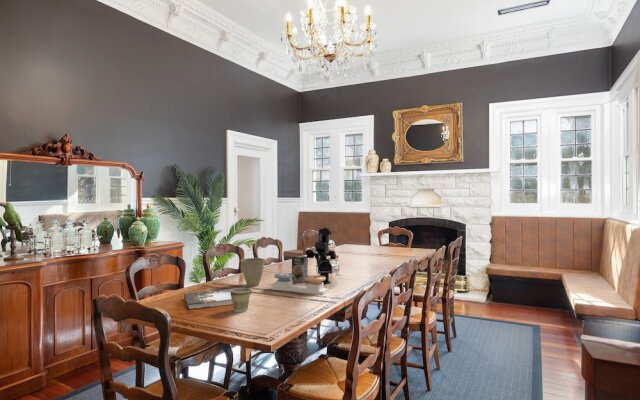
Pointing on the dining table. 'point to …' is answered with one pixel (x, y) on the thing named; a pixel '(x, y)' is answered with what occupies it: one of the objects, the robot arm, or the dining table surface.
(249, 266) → the plant pot
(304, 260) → the coffee box
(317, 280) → the brown round domed piece
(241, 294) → the ceramic cup
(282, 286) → the key console
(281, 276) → the two dot key
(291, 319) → the dining table surface
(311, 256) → the robot arm
